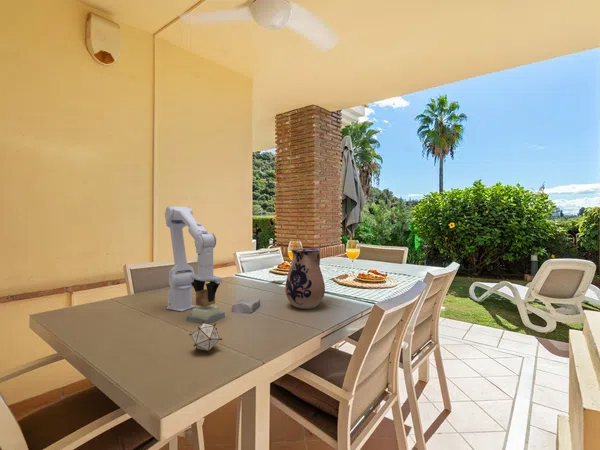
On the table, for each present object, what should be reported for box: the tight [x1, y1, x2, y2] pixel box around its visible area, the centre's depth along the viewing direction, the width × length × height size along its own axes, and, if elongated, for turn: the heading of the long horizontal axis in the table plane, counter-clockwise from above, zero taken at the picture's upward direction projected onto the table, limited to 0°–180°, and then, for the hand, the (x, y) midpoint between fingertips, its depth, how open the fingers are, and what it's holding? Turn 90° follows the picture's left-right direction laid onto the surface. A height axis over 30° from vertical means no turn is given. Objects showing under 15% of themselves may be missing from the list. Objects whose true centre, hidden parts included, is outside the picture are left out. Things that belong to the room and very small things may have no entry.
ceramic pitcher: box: [284, 248, 326, 310], centre depth 134 cm, size 18×21×25 cm
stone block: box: [231, 297, 261, 314], centre depth 129 cm, size 12×5×10 cm
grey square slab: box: [185, 310, 226, 325], centre depth 116 cm, size 10×10×2 cm
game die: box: [188, 321, 224, 355], centre depth 88 cm, size 9×8×10 cm
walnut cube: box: [195, 288, 216, 307], centre depth 115 cm, size 5×5×5 cm
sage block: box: [191, 304, 220, 318], centre depth 115 cm, size 7×7×2 cm
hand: (205, 300), depth 115 cm, fingers closed on walnut cube, 5 cm apart
